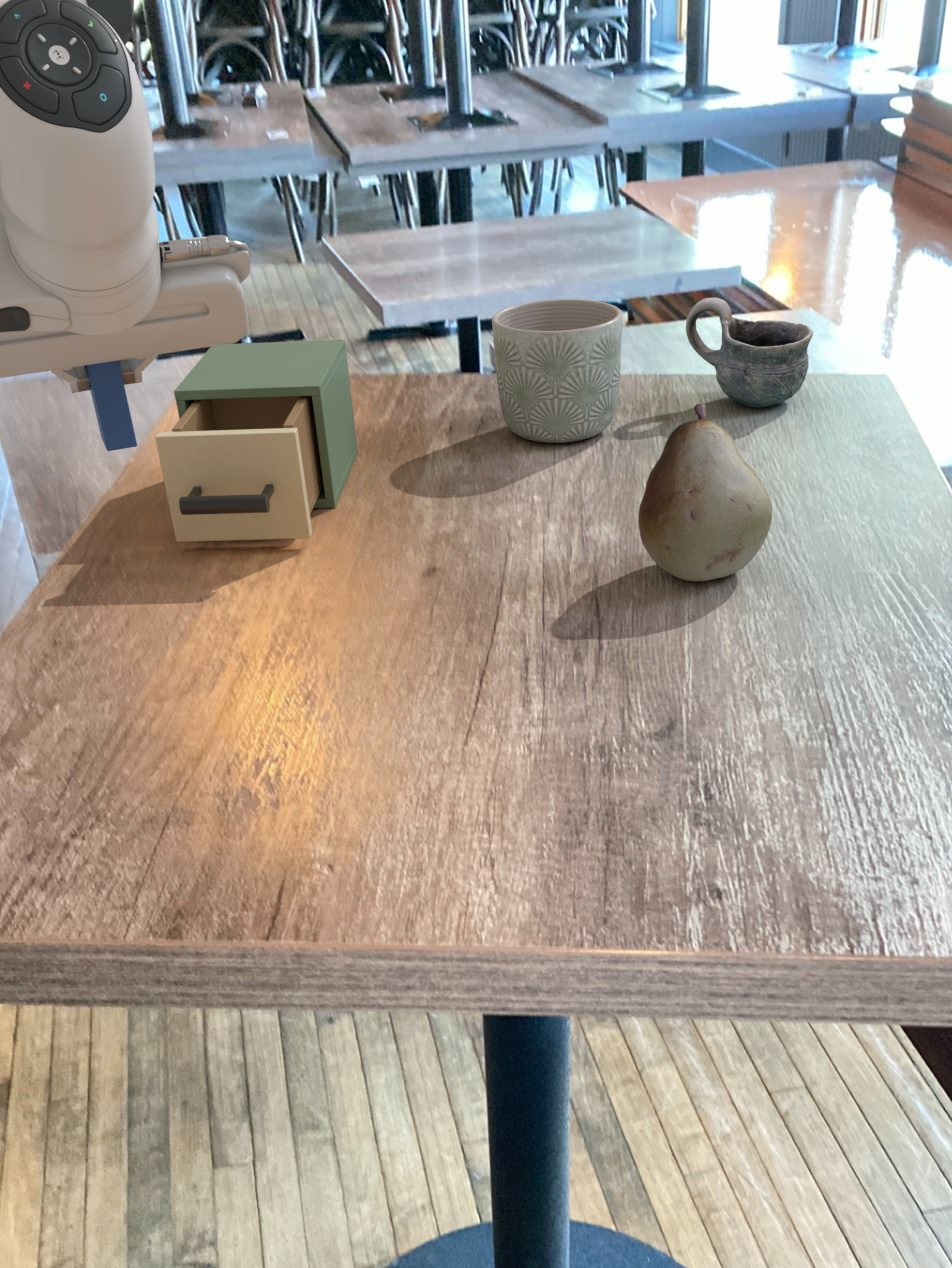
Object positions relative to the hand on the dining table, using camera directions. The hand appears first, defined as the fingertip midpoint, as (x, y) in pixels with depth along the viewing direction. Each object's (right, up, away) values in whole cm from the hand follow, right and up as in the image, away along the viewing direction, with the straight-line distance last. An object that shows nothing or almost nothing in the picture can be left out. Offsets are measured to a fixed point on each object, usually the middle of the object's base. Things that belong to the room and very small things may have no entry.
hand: (104, 379), depth 95 cm
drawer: (+7, -5, +19) cm, 21 cm away
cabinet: (+8, +2, +29) cm, 30 cm away
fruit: (+44, -12, +9) cm, 47 cm away
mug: (+54, +14, +41) cm, 69 cm away
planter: (+34, +9, +37) cm, 51 cm away
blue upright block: (0, -4, +2) cm, 4 cm away
